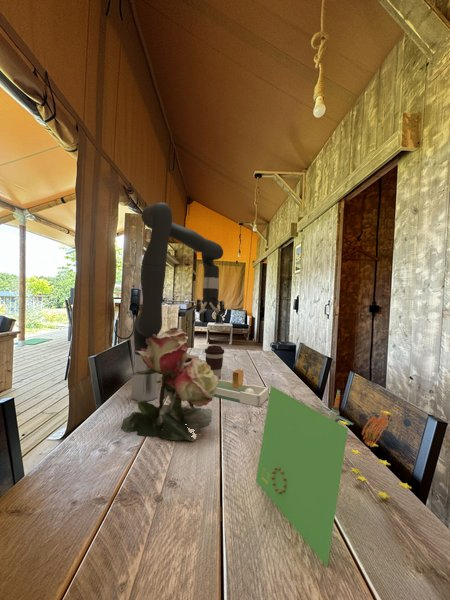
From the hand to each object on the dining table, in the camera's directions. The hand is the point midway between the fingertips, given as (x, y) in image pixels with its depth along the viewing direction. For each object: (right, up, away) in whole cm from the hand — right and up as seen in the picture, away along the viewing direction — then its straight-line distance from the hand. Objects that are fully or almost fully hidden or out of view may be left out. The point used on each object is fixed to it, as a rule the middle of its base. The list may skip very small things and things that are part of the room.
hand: (209, 322), depth 132 cm
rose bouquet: (-9, -29, -40) cm, 50 cm away
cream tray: (+12, -29, -16) cm, 35 cm away
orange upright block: (+12, -28, -16) cm, 34 cm away
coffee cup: (+1, -28, +11) cm, 30 cm away
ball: (+17, -27, -19) cm, 37 cm away
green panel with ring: (+30, -31, -74) cm, 85 cm away
